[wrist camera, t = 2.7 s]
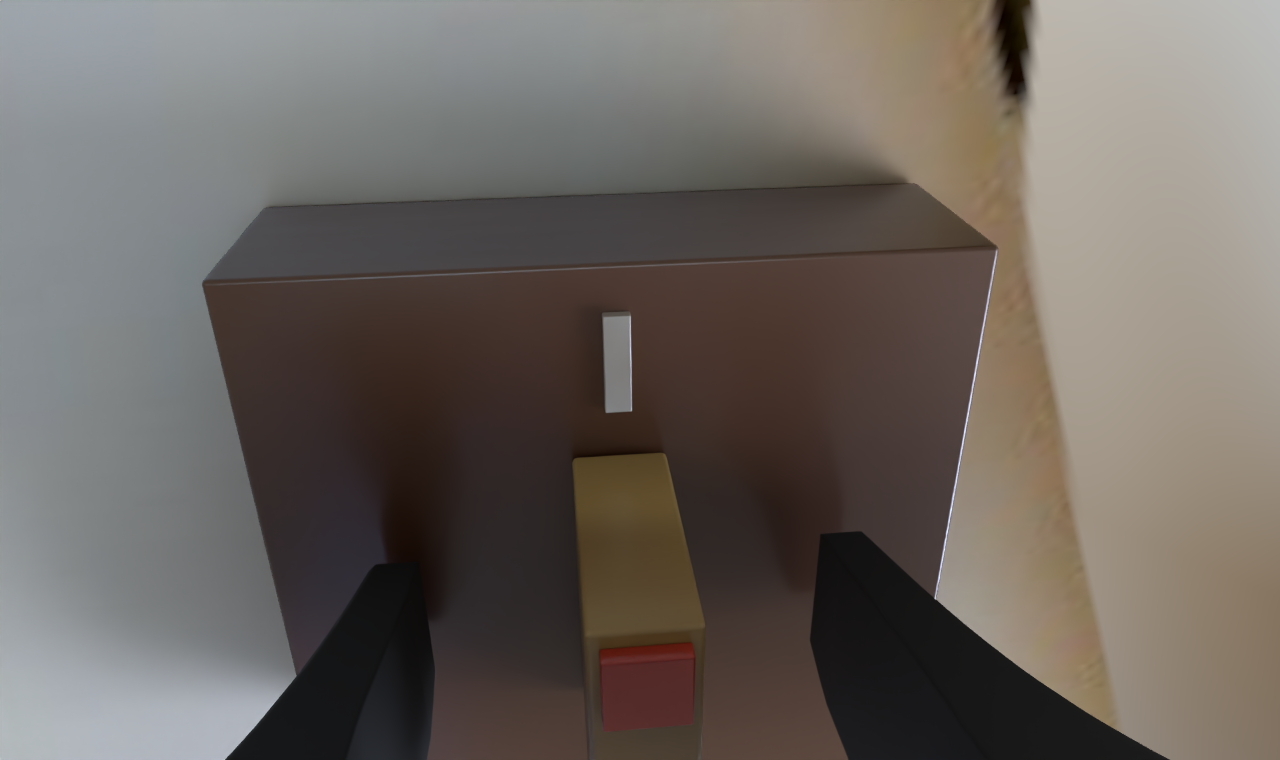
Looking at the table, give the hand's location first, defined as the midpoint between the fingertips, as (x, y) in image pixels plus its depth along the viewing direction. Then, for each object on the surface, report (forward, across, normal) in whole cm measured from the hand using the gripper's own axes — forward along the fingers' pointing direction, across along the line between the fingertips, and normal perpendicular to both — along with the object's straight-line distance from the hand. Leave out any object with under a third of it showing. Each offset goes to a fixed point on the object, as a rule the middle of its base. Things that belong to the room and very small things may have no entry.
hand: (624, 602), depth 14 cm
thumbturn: (0, 0, 0) cm, 0 cm away
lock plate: (+3, 0, 0) cm, 3 cm away
